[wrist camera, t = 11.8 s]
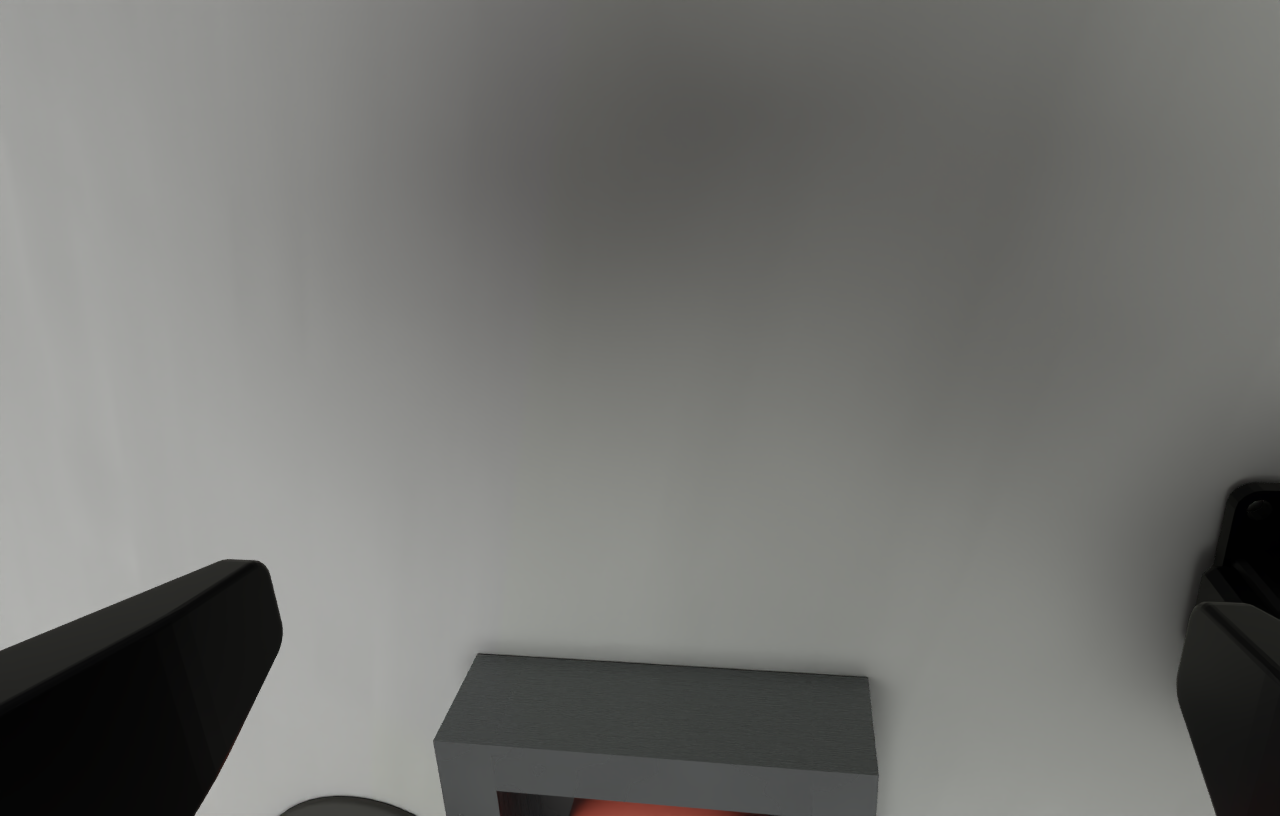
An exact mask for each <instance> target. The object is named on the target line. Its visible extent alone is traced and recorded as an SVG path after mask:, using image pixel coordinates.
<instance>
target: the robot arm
mask: <svg viewBox="0 0 1280 816" xmlns="http://www.w3.org/2000/svg"><path fill="white" fill-rule="evenodd" d="M1260 500H1263V501H1264V503H1263V504H1262V506H1261V507H1260V508H1259V509H1257V510H1256V511H1251V512H1247V509H1248V507H1249V505H1250V504H1252V503H1253V502H1255V501H1260ZM282 636H283V627H282V621H281V617H280V613H279V609H278V605H277V601H276V597H275V593H274V588H273V584H272V580H271V576H270V573H269V570H268V569H267V567H266V566H265V565H264V564H263V563H261V562H260V561H256V560H236V559H226V560H221V561H218V562H216V563H213V564H211V565H208V566H206V567H204V568H201V569H199V570H196V571H194V572H191V573H189V574H187V575H184V576H182V577H179V578H177V579H174V580H172V581H169V582H167V583H165V584H162V585H160V586H157V587H155V588H152V589H150V590H147V591H145V592H143V593H140V594H138V595H135V596H133V597H130V598H128V599H125V600H123V601H121V602H118V603H116V604H113V605H111V606H108V607H106V608H104V609H101V610H99V611H96V612H94V613H91V614H89V615H86V616H84V617H82V618H79V619H77V620H74V621H72V622H69V623H67V624H64V625H62V626H60V627H57V628H55V629H52V630H50V631H47V632H45V633H42V634H40V635H38V636H35V637H33V638H30V639H28V640H25V641H23V642H21V643H18V644H16V645H13V646H11V647H8V648H6V649H3V650H1V651H0V816H194V815H195V814H196V812H197V810H198V809H199V807H200V805H201V804H202V802H203V801H204V799H205V797H206V795H207V794H208V792H209V790H210V789H211V787H212V785H213V783H214V782H215V780H216V778H217V776H218V774H219V772H220V771H221V769H222V767H223V765H224V763H225V761H226V759H227V757H228V755H229V753H230V751H231V749H232V747H233V745H234V743H235V741H236V739H237V737H238V735H239V732H240V730H241V728H242V726H243V724H244V722H245V720H246V718H247V716H248V714H249V712H250V710H251V708H252V706H253V704H254V701H255V699H256V697H257V695H258V693H259V691H260V689H261V687H262V685H263V683H264V681H265V679H266V677H267V675H268V672H269V670H270V668H271V666H272V664H273V662H274V660H275V658H276V656H277V654H278V652H279V649H280V646H281V642H282ZM1177 696H1178V701H1179V705H1180V708H1181V711H1182V714H1183V717H1184V720H1185V723H1186V726H1187V729H1188V732H1189V735H1190V738H1191V741H1192V744H1193V747H1194V750H1195V753H1196V756H1197V759H1198V762H1199V765H1200V768H1201V771H1202V774H1203V777H1204V780H1205V783H1206V786H1207V789H1208V792H1209V795H1210V798H1211V801H1212V804H1213V807H1214V810H1215V813H1216V816H1280V483H1265V482H1254V483H1247V484H1244V485H1242V486H1240V487H1238V488H1236V489H1235V490H1234V491H1233V492H1232V493H1231V494H1230V496H1229V499H1228V501H1227V505H1226V509H1225V514H1224V518H1223V523H1222V527H1221V532H1220V536H1219V541H1218V546H1217V550H1216V555H1215V559H1214V564H1213V566H1211V567H1210V568H1209V569H1208V570H1207V571H1206V572H1205V573H1204V574H1203V576H1202V580H1201V584H1200V589H1199V594H1198V598H1197V603H1196V606H1195V607H1194V609H1193V611H1192V613H1191V615H1190V618H1189V623H1188V627H1187V632H1186V637H1185V642H1184V646H1183V651H1182V656H1181V660H1180V665H1179V670H1178V675H1177Z"/></svg>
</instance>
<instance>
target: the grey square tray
mask: <svg viewBox="0 0 1280 816" xmlns="http://www.w3.org/2000/svg"><path fill="white" fill-rule="evenodd" d="M433 743H434V748H435V754H436V760H437V765H438V771H439V777H440V782H441V788H442V794H443V799H444V805H445V811H446V816H569V815H570V811H571V808H572V804H573V801H574V798H585V799H596V800H608V801H619V802H631V803H642V804H654V805H666V806H677V807H689V808H700V809H712V810H723V811H735V812H746V813H758V814H769V816H876V808H877V792H878V776H879V775H878V766H877V757H876V748H875V739H874V730H873V721H872V711H871V702H870V693H869V684H868V678H862V677H845V676H829V675H812V674H796V673H780V672H763V671H747V670H730V669H714V668H697V667H681V666H664V665H648V664H631V663H615V662H598V661H582V660H565V659H549V658H532V657H516V656H499V655H483V654H477V656H476V658H475V660H474V662H473V664H472V666H471V668H470V670H469V672H468V674H467V676H466V678H465V680H464V682H463V684H462V685H461V687H460V689H459V691H458V693H457V695H456V697H455V699H454V701H453V703H452V705H451V707H450V709H449V711H448V713H447V715H446V717H445V719H444V721H443V723H442V725H441V727H440V729H439V731H438V732H437V734H436V736H435V738H434V740H433Z"/></svg>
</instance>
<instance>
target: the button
mask: <svg viewBox="0 0 1280 816" xmlns="http://www.w3.org/2000/svg"><path fill="white" fill-rule="evenodd" d="M569 816H769V814H758V813H746V812H735V811H723V810H712V809H700V808H689V807H677V806H666V805H654V804H642V803H631V802H619V801H608V800H596V799H585V798H574V801H573V804H572V808H571V811H570V815H569Z"/></svg>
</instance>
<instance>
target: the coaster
mask: <svg viewBox="0 0 1280 816" xmlns="http://www.w3.org/2000/svg"><path fill="white" fill-rule="evenodd" d="M281 816H414V815H412V814H410V813H407V812H405V811H403V810H401V809H398V808H396V807H393V806H390V805H387V804H384V803H381V802H376V801H372V800H368V799H362V798H355V797H325V798H319V799H314V800H310V801H307V802H304V803H301V804H298V805H296V806H294V807H293V808H291V809H289V810H287V811H286V812H285V813H283V814H282V815H281Z"/></svg>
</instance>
